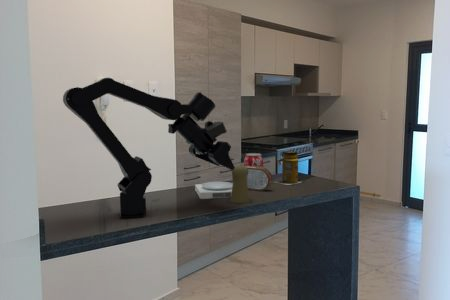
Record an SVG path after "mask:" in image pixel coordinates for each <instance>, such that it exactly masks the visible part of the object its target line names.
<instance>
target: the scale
mask: <svg viewBox="0 0 450 300" xmlns="http://www.w3.org/2000/svg"><path fill="white" fill-rule="evenodd" d="M232 186H233V182H229V181H207V182H204V183H199V184H194V189H195V192H196V194H197V196H198V197H199V199H200V200H206V199H224V198H225V199H226V198H227V199H228V198H231V194H232Z"/></svg>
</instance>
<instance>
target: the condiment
mask: <svg viewBox="0 0 450 300" xmlns="http://www.w3.org/2000/svg"><path fill="white" fill-rule="evenodd" d="M282 157H283V158H282V161H281V162H282V163H281V164H282V165H281V166H282V167H281V169H282V170H281V171H282V173H281V174H282V175H281V180H278V181H275V183H276V184H279V185H280V184H281V185H287V186H291V185H296V184H301V183H302V181H299V159H298V152H297V151H294V150H293V151H290V150H289V151H283V156H282Z"/></svg>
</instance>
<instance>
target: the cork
mask: <svg viewBox="0 0 450 300" xmlns="http://www.w3.org/2000/svg"><path fill="white" fill-rule="evenodd" d="M234 167H235V168H234V169H233V170H231V176H232V175H233V177H234V178H233V179H232V183H233V186H232V194H231V197H230V202H232V203H234V204H246V203H249V202H250V193H249V189H248V185H247V175H248V169H247V167H244V166H242V165H237V166H234Z"/></svg>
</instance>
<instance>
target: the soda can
mask: <svg viewBox="0 0 450 300" xmlns="http://www.w3.org/2000/svg"><path fill="white" fill-rule="evenodd" d="M243 165H246V166H257V167H264V158H263V157H262V153H258V152H257V153H256V152H251V153H245V157H244V159H243Z"/></svg>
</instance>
